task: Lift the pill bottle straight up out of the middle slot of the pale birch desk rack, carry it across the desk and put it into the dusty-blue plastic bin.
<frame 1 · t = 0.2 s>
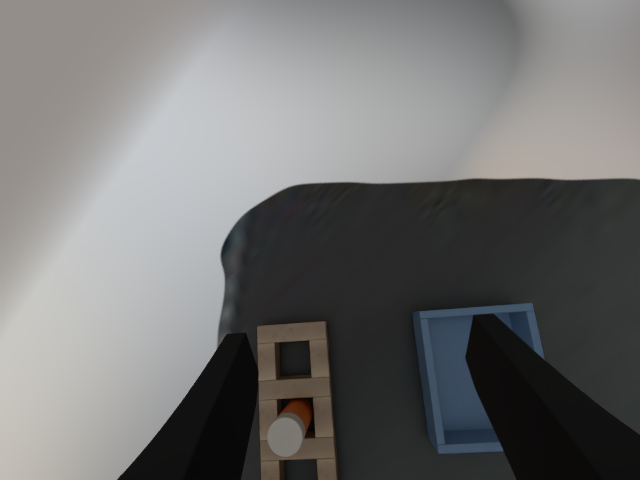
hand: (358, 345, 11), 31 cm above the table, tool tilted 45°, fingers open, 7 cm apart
pen rack: (299, 411, 39), on the table
pill bottle: (293, 423, 35), in the pen rack
bin: (471, 369, 38), on the table
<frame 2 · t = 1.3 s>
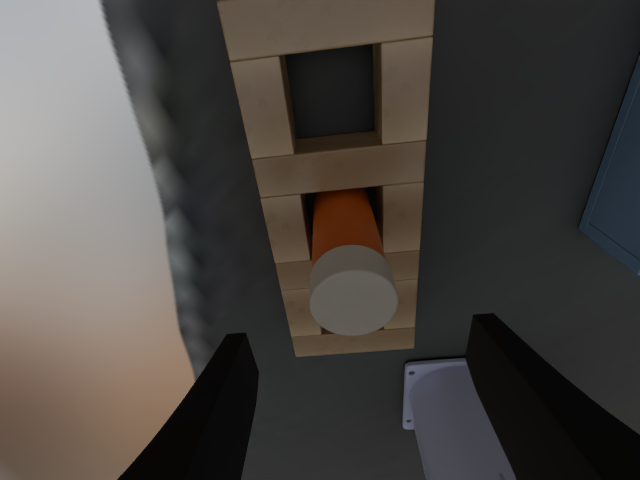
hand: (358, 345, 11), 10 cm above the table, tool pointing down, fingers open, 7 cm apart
pen rack: (341, 203, 20), on the table
pill bottle: (346, 243, 16), in the pen rack
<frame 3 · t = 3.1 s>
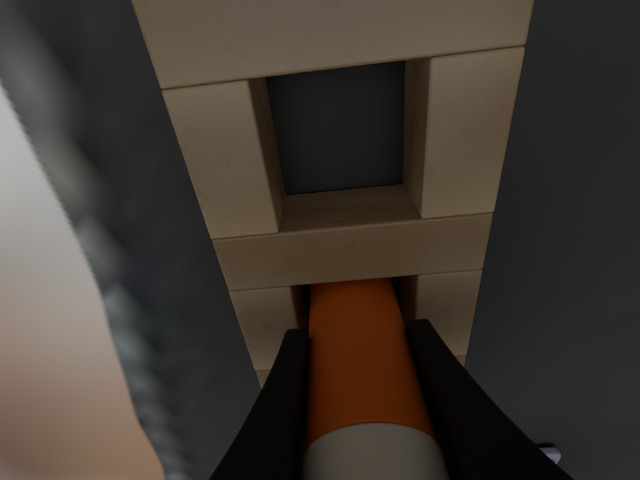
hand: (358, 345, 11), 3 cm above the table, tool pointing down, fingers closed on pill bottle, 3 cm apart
pen rack: (350, 278, 14), on the table
pill bottle: (360, 367, 10), in the pen rack, touching gripper
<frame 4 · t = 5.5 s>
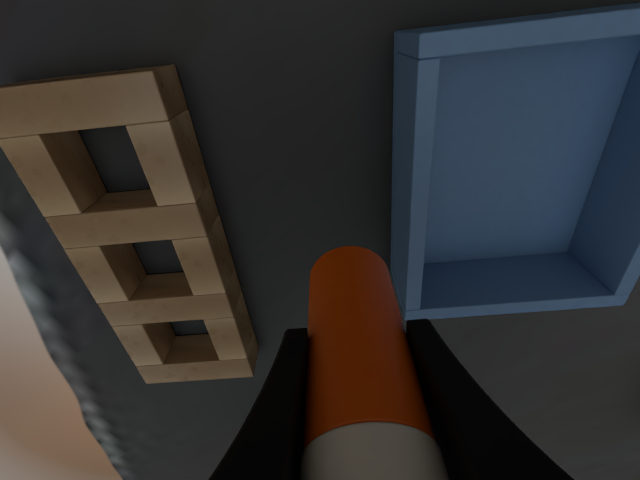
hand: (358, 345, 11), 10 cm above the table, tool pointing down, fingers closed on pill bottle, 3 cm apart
pen rack: (165, 247, 21), on the table
pill bottle: (359, 366, 10), point 11 cm above the table, touching gripper
bin: (497, 163, 18), on the table
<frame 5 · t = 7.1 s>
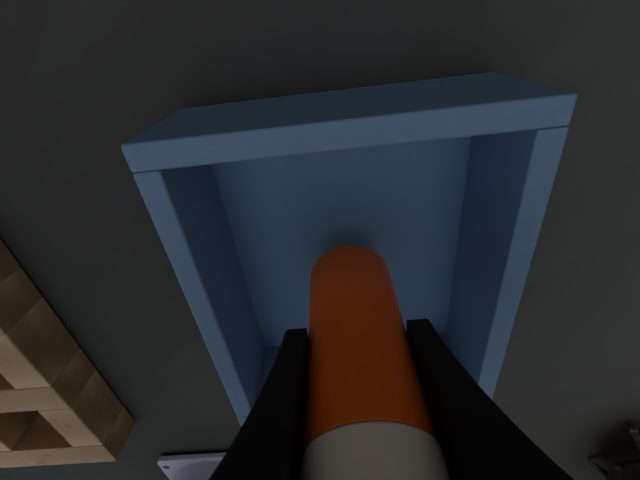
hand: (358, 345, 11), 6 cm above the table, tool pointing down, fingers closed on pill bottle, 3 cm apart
pill bottle: (360, 366, 10), point 7 cm above the table, touching gripper
alarm clock: (615, 449, 27), on the table
bin: (346, 244, 16), on the table
when the fingers open (4 cm above the table, at t = 8.1 s): pill bottle stays where it is, resting on bin.
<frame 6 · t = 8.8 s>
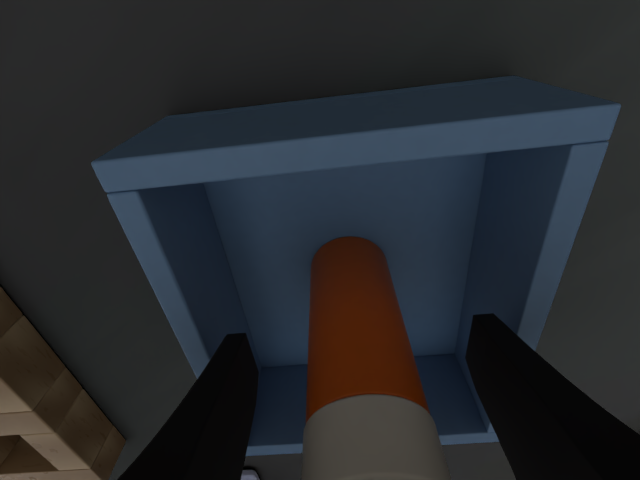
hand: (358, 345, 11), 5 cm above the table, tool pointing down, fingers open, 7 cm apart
pill bottle: (358, 349, 11), in the bin, point 5 cm above the table
bin: (348, 260, 15), on the table
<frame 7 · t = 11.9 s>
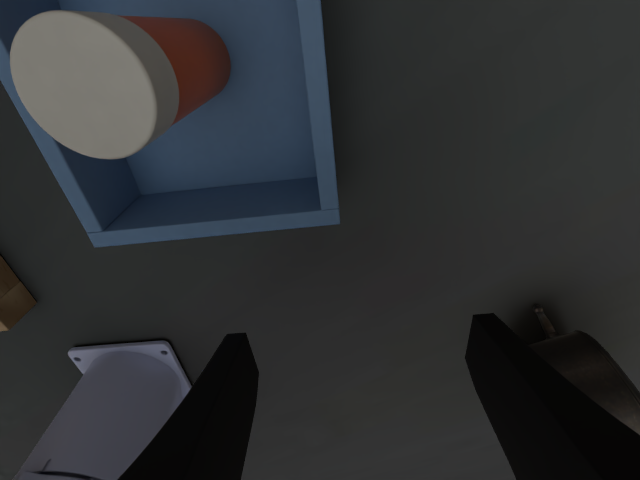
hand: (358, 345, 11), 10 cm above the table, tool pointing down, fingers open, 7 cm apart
pill bottle: (157, 72, 12), in the bin, point 5 cm above the table
alarm clock: (531, 342, 27), on the table
bin: (200, 61, 16), on the table
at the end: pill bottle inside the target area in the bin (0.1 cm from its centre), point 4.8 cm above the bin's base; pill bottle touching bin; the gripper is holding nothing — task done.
